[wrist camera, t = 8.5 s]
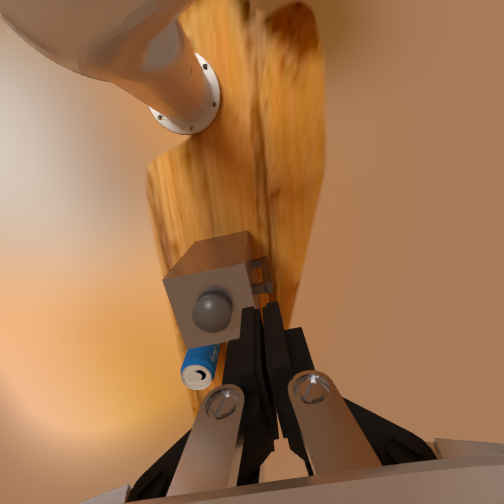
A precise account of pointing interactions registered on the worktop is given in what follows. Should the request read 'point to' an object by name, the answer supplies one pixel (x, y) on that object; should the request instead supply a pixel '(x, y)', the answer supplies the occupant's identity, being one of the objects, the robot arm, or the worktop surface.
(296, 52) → the worktop surface
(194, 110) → the robot arm
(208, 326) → the plunger
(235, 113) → the worktop surface
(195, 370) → the beverage can
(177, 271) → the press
